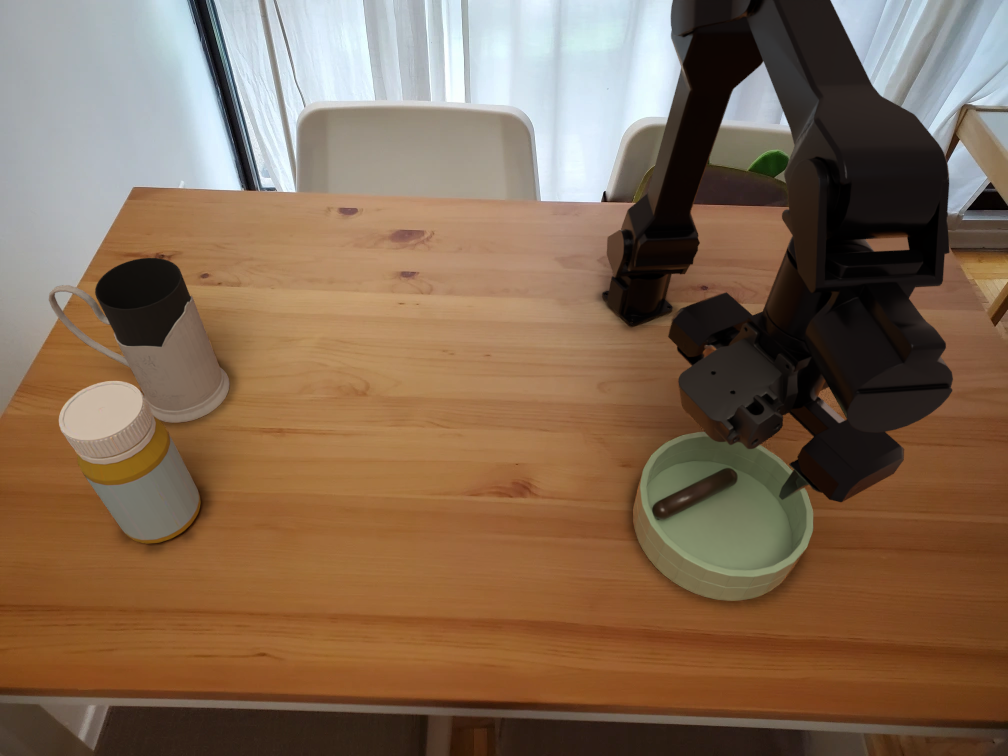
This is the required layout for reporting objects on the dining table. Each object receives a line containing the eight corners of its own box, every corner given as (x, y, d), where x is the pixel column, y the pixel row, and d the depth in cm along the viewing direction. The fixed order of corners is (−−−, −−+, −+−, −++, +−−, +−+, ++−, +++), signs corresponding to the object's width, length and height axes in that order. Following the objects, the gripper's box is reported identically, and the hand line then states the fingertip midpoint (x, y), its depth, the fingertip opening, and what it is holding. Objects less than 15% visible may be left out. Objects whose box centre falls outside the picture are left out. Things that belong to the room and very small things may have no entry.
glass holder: (212, 426, 74) (165, 318, 63) (78, 414, 75) (9, 306, 64) (240, 365, 80) (202, 256, 69) (116, 355, 81) (59, 246, 70)
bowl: (722, 438, 75) (734, 410, 71) (832, 555, 66) (850, 529, 63) (601, 496, 70) (607, 468, 66) (702, 631, 61) (715, 607, 57)
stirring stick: (743, 473, 69) (740, 485, 70) (730, 461, 70) (727, 473, 71) (661, 514, 65) (659, 527, 67) (649, 501, 67) (647, 513, 68)
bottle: (134, 484, 69) (69, 378, 58) (209, 480, 70) (158, 374, 59) (113, 549, 64) (38, 447, 53) (194, 544, 65) (136, 442, 54)
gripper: (629, 270, 51) (601, 412, 62) (824, 459, 40) (747, 590, 51) (749, 228, 55) (702, 369, 66) (957, 391, 44) (858, 526, 55)
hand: (745, 454), depth 60 cm, fingers open, 9 cm apart
